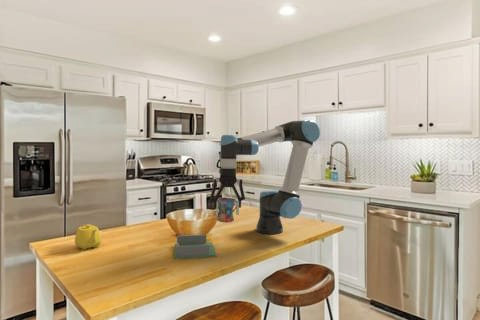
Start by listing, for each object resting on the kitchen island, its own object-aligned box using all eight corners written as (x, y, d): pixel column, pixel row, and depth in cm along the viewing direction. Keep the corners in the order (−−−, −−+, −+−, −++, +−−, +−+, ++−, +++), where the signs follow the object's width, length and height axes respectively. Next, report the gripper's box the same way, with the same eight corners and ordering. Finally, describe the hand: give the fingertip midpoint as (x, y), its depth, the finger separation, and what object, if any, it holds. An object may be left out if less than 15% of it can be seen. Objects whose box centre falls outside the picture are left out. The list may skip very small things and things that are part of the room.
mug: (223, 224, 147) (225, 201, 147) (211, 220, 154) (212, 198, 153) (242, 221, 155) (244, 199, 155) (230, 217, 162) (231, 196, 162)
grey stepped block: (212, 243, 160) (212, 233, 160) (216, 256, 142) (216, 245, 142) (174, 245, 157) (174, 235, 156) (174, 258, 139) (174, 247, 139)
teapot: (107, 249, 150) (107, 226, 149) (82, 255, 143) (81, 231, 142) (94, 240, 163) (94, 219, 163) (70, 245, 156) (70, 223, 155)
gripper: (249, 167, 159) (247, 212, 160) (204, 166, 154) (203, 213, 155) (252, 168, 151) (251, 215, 152) (205, 168, 147) (204, 216, 148)
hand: (227, 214), depth 154 cm, fingers closed on mug, 9 cm apart
